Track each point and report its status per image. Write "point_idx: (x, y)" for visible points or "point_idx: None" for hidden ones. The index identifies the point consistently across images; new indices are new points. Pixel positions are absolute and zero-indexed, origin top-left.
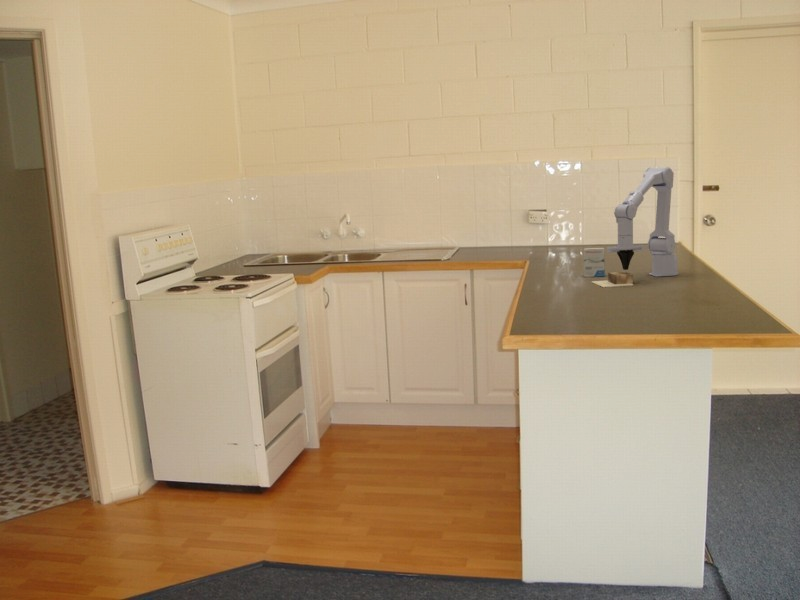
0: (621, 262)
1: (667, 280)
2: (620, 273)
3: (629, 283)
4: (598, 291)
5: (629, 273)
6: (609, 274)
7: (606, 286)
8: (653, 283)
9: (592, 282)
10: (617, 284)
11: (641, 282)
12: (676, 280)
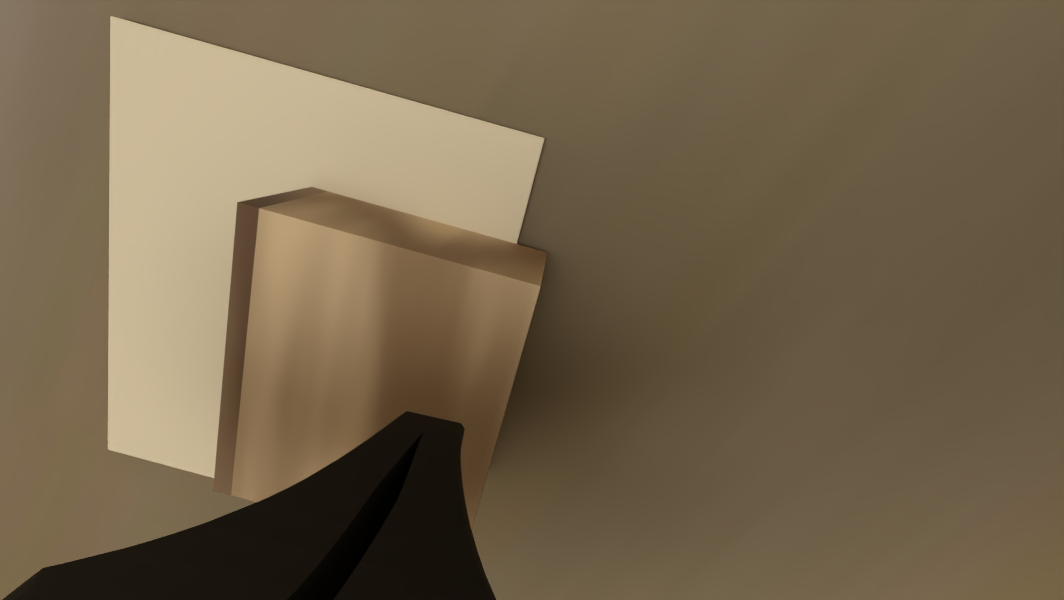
0: (328, 474)
1: (962, 506)
2: (369, 389)
3: None
4: (13, 563)
5: (475, 472)
6: (244, 257)
7: (145, 459)
8: (690, 553)
9: (117, 70)
10: None
11: (642, 432)
12: (1026, 563)
